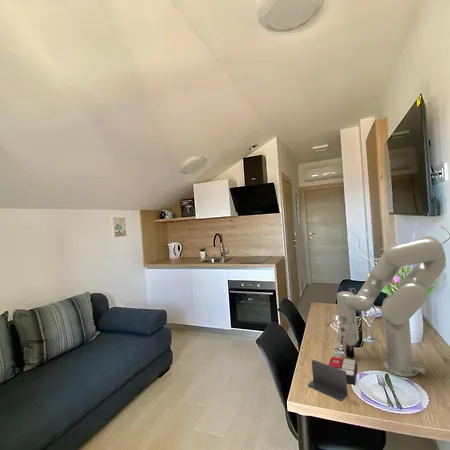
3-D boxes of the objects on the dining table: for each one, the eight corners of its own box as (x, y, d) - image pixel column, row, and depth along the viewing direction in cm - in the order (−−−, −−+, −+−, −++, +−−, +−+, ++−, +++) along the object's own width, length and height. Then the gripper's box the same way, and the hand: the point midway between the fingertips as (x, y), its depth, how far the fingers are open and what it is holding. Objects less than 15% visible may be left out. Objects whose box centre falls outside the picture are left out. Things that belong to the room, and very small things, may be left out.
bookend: (347, 395, 104) (345, 371, 104) (341, 401, 101) (339, 376, 101) (314, 381, 115) (313, 359, 115) (308, 386, 112) (306, 364, 112)
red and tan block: (356, 359, 123) (354, 374, 110) (357, 369, 123) (355, 385, 110) (330, 355, 129) (325, 369, 115) (331, 365, 128) (326, 380, 115)
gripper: (347, 324, 122) (350, 366, 122) (362, 315, 131) (365, 354, 131) (331, 321, 128) (334, 360, 128) (347, 312, 137) (350, 349, 137)
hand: (350, 357), depth 129 cm, fingers closed
